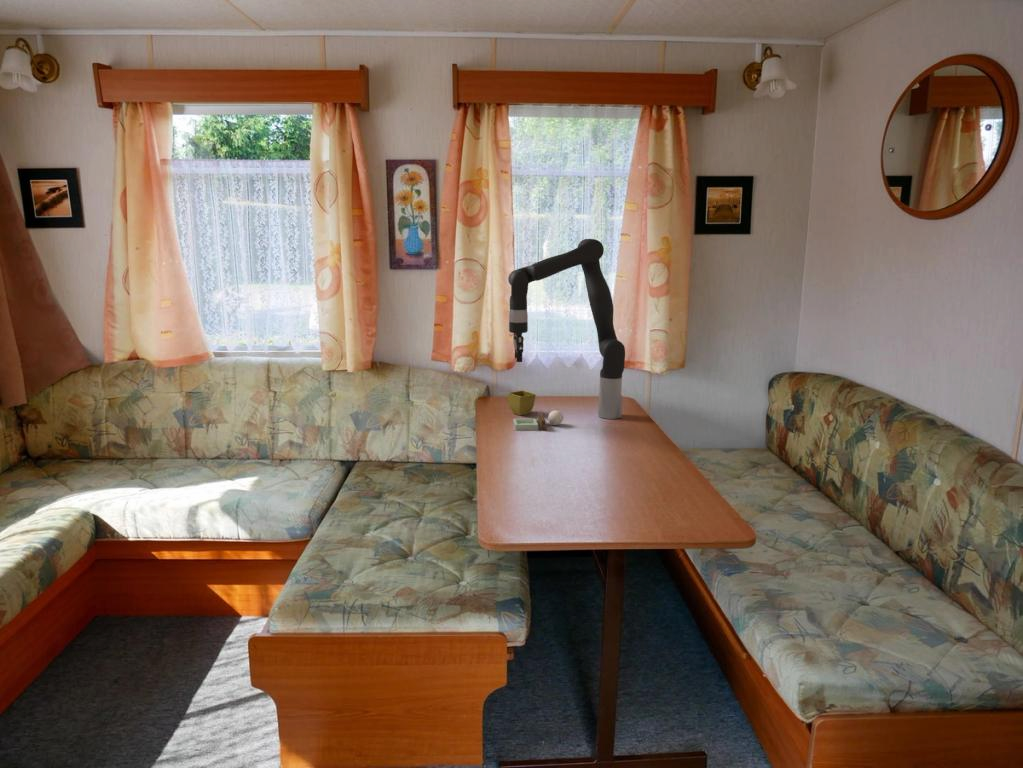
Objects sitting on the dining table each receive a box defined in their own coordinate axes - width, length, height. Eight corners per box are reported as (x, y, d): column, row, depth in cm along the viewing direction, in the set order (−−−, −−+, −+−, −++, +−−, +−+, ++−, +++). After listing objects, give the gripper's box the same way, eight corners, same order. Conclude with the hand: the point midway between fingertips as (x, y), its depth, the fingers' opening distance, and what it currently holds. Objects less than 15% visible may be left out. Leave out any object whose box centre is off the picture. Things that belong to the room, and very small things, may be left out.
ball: (561, 422, 279) (562, 408, 277) (564, 427, 273) (564, 412, 272) (547, 423, 278) (547, 408, 277) (549, 427, 272) (549, 412, 271)
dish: (535, 423, 277) (535, 418, 277) (538, 429, 268) (538, 424, 268) (513, 423, 276) (513, 418, 276) (515, 430, 268) (515, 425, 267)
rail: (542, 422, 279) (543, 412, 279) (547, 430, 268) (547, 420, 267) (535, 422, 279) (535, 412, 278) (539, 430, 268) (539, 420, 267)
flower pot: (522, 410, 298) (522, 390, 296) (535, 414, 291) (536, 393, 289) (506, 413, 292) (507, 392, 290) (520, 417, 286) (520, 396, 284)
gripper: (529, 322, 267) (529, 363, 271) (525, 318, 281) (525, 356, 285) (510, 323, 267) (510, 363, 270) (507, 318, 280) (508, 357, 284)
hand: (518, 360), depth 277 cm, fingers open, 8 cm apart
